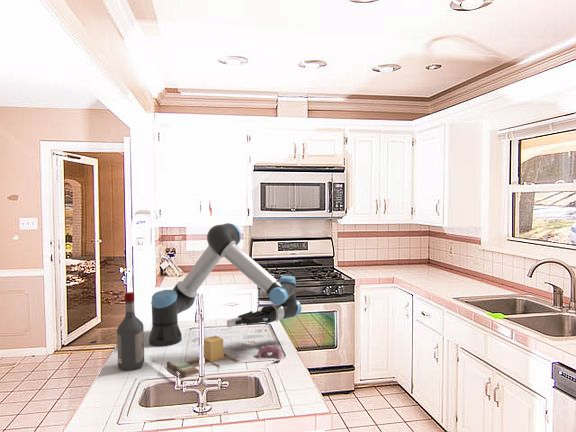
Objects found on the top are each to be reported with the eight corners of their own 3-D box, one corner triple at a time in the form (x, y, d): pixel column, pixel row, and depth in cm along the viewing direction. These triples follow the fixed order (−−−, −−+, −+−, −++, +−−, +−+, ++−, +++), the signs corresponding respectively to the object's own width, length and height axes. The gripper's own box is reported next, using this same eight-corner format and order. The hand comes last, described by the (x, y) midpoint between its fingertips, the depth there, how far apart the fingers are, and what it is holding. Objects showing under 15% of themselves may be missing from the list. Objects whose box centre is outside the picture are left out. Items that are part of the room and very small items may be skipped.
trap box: (167, 370, 175) (166, 362, 174) (221, 355, 191) (221, 347, 190) (183, 381, 164) (183, 372, 164) (239, 364, 180) (239, 356, 180)
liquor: (145, 361, 185) (143, 290, 183) (140, 370, 176) (138, 295, 174) (122, 362, 184) (120, 291, 182) (116, 371, 175) (114, 296, 173)
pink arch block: (281, 363, 185) (282, 345, 188) (280, 362, 181) (280, 344, 184) (258, 362, 186) (259, 345, 189) (256, 361, 182) (257, 343, 185)
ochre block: (203, 357, 184) (203, 338, 184) (216, 354, 188) (215, 335, 188) (210, 361, 180) (210, 342, 179) (223, 358, 184) (223, 338, 183)
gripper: (281, 324, 197) (236, 335, 182) (263, 318, 207) (220, 329, 192) (280, 307, 197) (236, 317, 182) (263, 302, 207) (219, 312, 192)
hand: (227, 323), depth 187 cm, fingers closed
